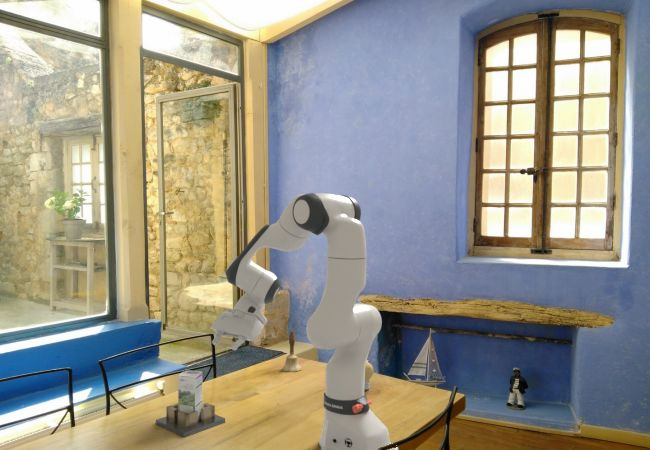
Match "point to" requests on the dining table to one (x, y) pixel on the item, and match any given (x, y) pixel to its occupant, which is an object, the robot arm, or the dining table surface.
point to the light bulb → (368, 375)
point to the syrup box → (190, 392)
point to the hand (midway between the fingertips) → (223, 346)
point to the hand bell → (291, 357)
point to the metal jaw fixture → (189, 420)
